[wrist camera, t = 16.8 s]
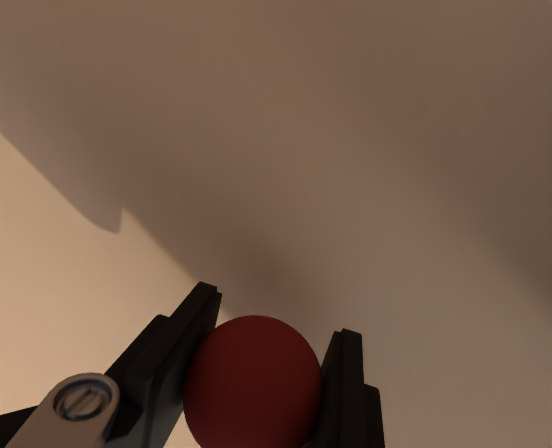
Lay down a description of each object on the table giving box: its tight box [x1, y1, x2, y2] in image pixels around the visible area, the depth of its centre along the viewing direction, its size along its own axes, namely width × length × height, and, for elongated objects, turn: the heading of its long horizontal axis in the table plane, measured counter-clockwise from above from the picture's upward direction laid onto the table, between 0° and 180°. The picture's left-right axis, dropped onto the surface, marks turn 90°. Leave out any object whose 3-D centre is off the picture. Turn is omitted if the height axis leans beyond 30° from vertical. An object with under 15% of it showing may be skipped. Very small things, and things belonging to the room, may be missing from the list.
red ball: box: [182, 315, 323, 448], centre depth 9 cm, size 4×4×4 cm
